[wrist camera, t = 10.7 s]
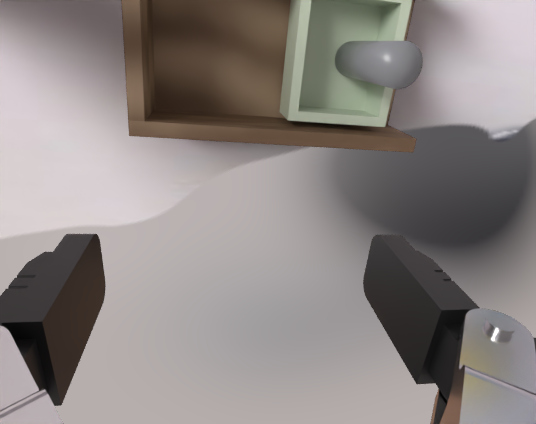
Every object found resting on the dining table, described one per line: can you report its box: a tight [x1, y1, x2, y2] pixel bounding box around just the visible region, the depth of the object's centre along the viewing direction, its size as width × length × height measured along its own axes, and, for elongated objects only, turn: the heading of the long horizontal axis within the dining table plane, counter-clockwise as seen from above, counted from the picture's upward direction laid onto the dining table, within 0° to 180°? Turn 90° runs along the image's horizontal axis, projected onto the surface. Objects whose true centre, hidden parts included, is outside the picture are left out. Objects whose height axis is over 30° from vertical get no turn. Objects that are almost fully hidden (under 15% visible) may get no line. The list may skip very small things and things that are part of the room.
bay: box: [121, 0, 416, 152], centre depth 32 cm, size 14×24×7 cm, turn 85°
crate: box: [279, 0, 422, 127], centre depth 30 cm, size 10×9×11 cm
